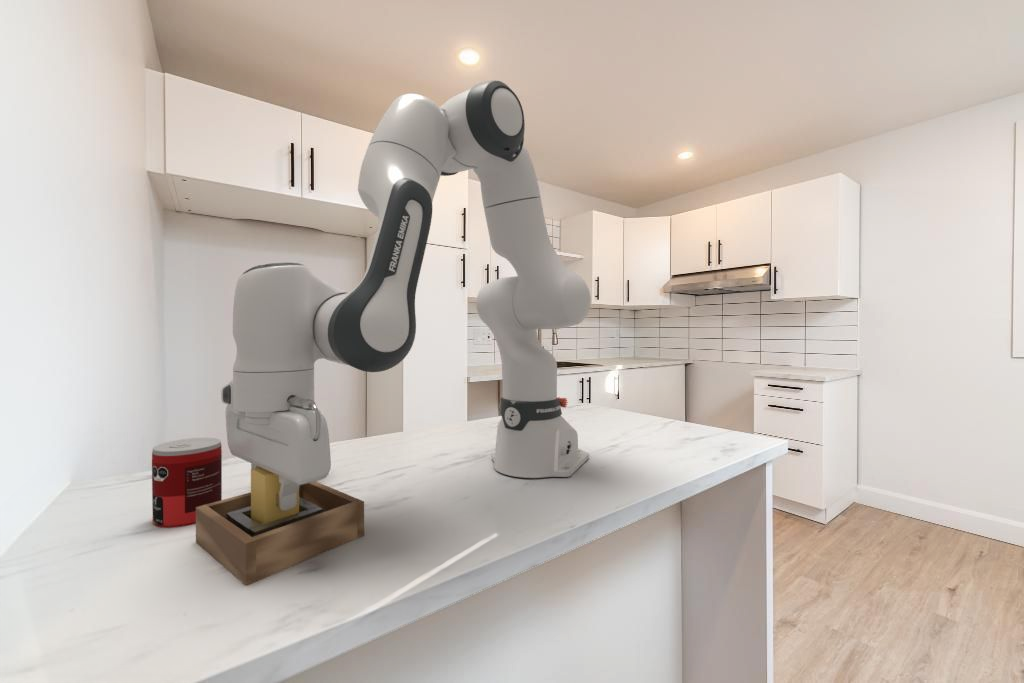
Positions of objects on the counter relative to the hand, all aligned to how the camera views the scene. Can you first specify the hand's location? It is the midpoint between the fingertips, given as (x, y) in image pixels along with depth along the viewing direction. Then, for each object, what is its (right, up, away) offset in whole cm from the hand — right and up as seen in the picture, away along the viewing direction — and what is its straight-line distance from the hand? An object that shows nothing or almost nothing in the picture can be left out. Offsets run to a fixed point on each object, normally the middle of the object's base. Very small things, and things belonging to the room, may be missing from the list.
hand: (275, 502), depth 53 cm
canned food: (-17, -6, +8) cm, 19 cm away
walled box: (0, -6, +1) cm, 6 cm away
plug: (0, -4, 0) cm, 4 cm away
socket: (0, -5, 0) cm, 5 cm away
